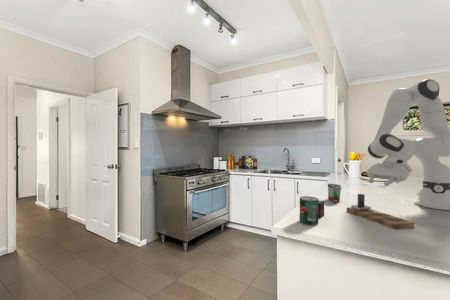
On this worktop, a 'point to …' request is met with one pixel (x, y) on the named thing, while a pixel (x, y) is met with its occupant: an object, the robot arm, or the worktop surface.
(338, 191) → the food container
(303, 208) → the canned tomato
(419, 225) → the worktop surface
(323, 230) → the worktop surface
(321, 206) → the box
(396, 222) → the brown wooden board
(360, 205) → the slider
